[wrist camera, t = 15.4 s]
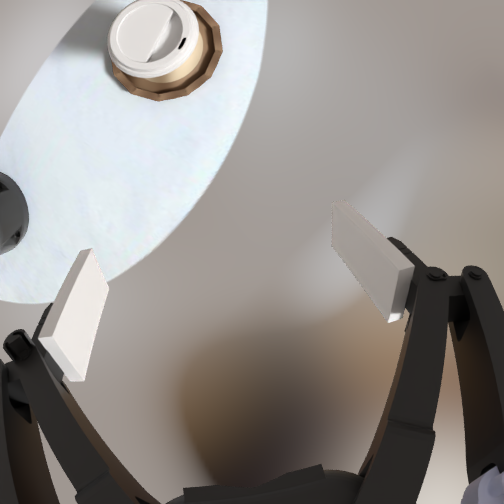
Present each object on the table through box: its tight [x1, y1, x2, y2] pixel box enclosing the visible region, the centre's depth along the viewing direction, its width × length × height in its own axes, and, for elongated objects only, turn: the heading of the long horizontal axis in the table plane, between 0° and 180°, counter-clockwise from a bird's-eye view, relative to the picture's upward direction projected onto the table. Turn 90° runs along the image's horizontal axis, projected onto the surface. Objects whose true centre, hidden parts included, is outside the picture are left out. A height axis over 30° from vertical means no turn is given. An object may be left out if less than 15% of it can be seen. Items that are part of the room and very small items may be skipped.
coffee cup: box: [107, 0, 199, 78], centre depth 28 cm, size 10×10×15 cm
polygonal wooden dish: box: [111, 0, 223, 101], centre depth 35 cm, size 16×16×2 cm
